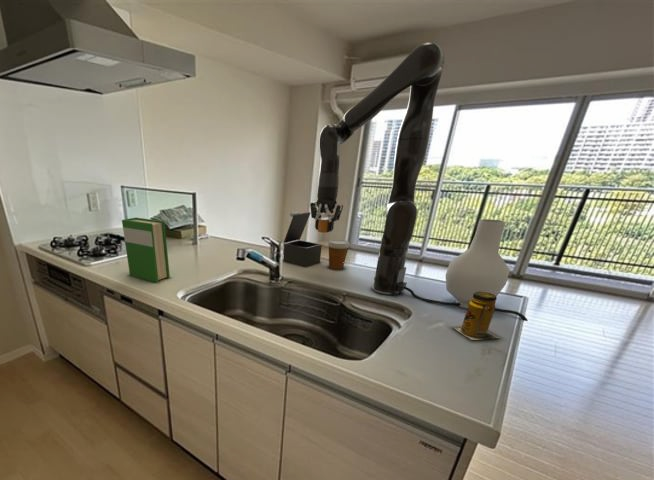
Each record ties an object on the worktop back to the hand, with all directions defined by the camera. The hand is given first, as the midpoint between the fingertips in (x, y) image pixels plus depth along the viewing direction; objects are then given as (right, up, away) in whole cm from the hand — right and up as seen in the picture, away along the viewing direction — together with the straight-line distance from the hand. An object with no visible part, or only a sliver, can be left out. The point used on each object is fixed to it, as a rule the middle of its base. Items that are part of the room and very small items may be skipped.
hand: (323, 230), depth 135 cm
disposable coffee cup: (+11, -12, +21) cm, 27 cm away
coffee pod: (0, 0, 0) cm, 0 cm away
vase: (+43, -31, -20) cm, 57 cm away
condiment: (+33, -40, -38) cm, 64 cm away
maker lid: (-5, +8, +26) cm, 28 cm away
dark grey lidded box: (-3, -8, +30) cm, 32 cm away
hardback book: (-73, -17, +13) cm, 76 cm away
